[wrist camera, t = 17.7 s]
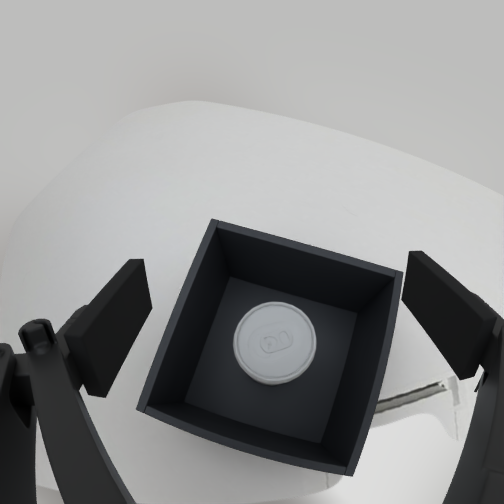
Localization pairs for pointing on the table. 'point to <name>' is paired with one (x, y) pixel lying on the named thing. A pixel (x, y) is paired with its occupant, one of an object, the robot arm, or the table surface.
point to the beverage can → (274, 343)
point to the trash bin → (290, 393)
